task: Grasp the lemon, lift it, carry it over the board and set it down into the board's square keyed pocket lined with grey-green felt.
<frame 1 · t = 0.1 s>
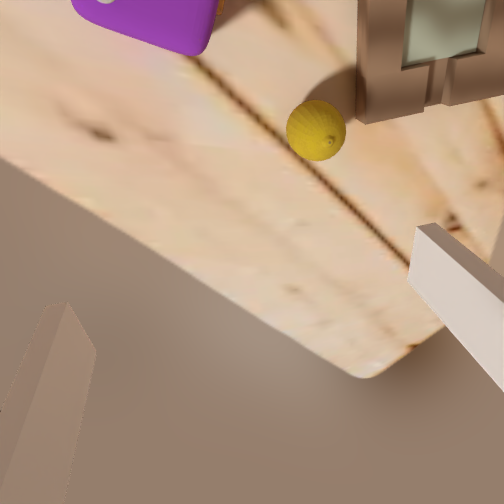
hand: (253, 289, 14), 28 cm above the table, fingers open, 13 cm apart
lemon: (302, 119, 39), on the table
pocket board: (435, 8, 35), on the table
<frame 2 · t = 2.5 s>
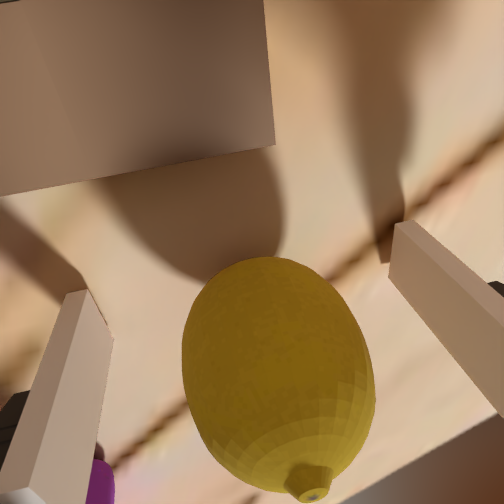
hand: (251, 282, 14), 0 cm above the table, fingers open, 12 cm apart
lemon: (248, 273, 14), on the table
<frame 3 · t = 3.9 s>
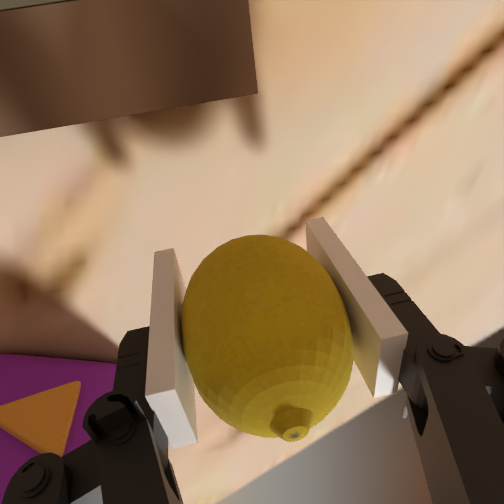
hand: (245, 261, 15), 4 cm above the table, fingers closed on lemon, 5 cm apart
lemon: (243, 254, 16), point 4 cm above the table, touching gripper
toy camera: (35, 390, 24), on the table
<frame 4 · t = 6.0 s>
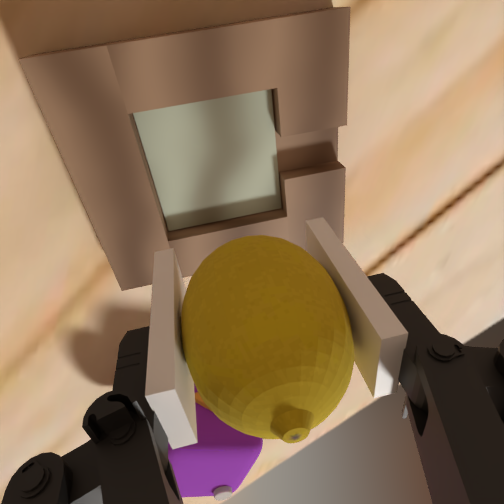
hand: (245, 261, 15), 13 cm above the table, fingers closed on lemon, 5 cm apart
lemon: (243, 255, 16), point 12 cm above the table, touching gripper
pocket board: (213, 159, 26), on the table
toy camera: (184, 386, 40), on the table
when the fingers open (3 cm above the table, at t = 8.0 s): lemon drops 1 cm, resting on pocket board.
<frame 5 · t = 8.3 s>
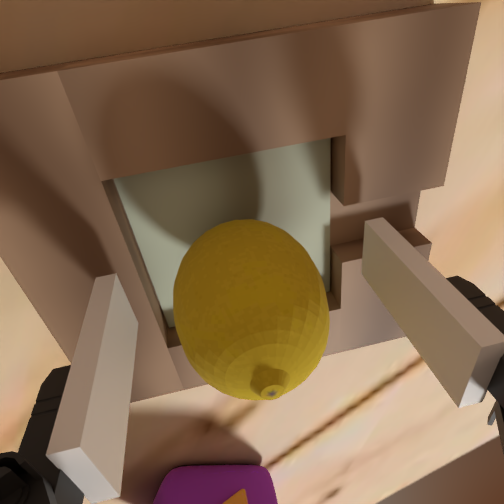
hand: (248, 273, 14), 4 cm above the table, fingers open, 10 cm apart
lemon: (233, 240, 17), point 1 cm above the table, touching pocket board
pocket board: (235, 228, 17), on the table
toy camera: (188, 484, 31), on the table
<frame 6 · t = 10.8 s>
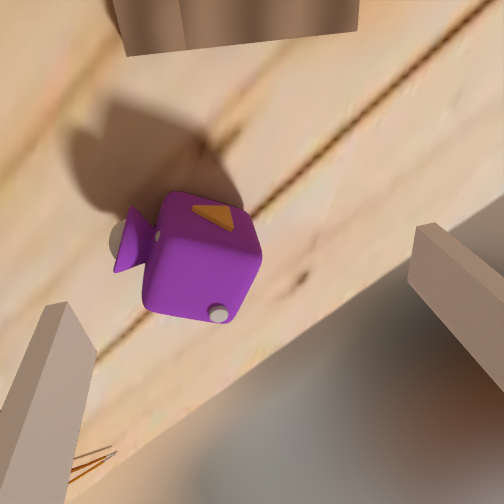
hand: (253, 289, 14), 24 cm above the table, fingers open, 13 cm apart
toy camera: (183, 228, 39), on the table
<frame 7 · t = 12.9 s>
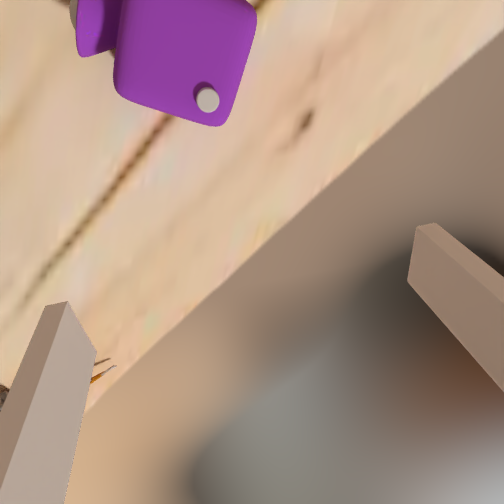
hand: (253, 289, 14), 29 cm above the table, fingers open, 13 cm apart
toy camera: (164, 38, 33), on the table
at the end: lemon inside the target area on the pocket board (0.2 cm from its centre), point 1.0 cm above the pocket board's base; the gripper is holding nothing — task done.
